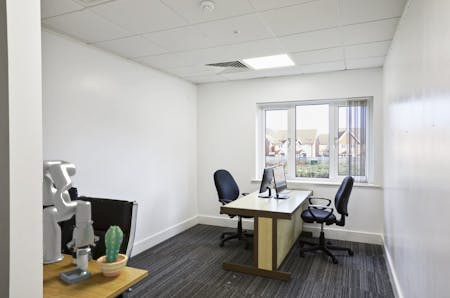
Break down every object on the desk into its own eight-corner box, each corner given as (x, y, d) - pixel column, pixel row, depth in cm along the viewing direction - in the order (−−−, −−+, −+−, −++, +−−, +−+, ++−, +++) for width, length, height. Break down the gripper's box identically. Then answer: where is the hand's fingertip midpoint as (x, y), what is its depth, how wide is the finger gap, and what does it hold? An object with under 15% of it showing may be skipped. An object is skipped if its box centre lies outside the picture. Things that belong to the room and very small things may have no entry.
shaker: (75, 269, 158) (75, 251, 159) (85, 266, 163) (85, 249, 163) (80, 272, 155) (80, 253, 155) (89, 269, 159) (89, 250, 160)
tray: (59, 279, 147) (59, 273, 147) (79, 272, 155) (79, 267, 155) (70, 286, 139) (70, 279, 139) (91, 278, 147) (91, 273, 147)
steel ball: (79, 278, 147) (79, 271, 147) (85, 276, 149) (85, 269, 149) (82, 280, 145) (82, 273, 145) (88, 277, 147) (88, 271, 147)
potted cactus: (133, 270, 158) (134, 224, 158) (114, 282, 143) (114, 231, 144) (110, 266, 163) (111, 222, 163) (89, 277, 149) (90, 228, 149)
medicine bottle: (84, 265, 165) (84, 244, 165) (73, 264, 166) (73, 243, 166) (92, 260, 172) (92, 240, 172) (81, 259, 173) (82, 239, 173)
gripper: (95, 220, 168) (95, 250, 168) (63, 226, 155) (64, 259, 154) (102, 222, 164) (102, 252, 163) (70, 228, 150) (70, 262, 149)
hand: (83, 255), depth 159 cm, fingers open, 9 cm apart
